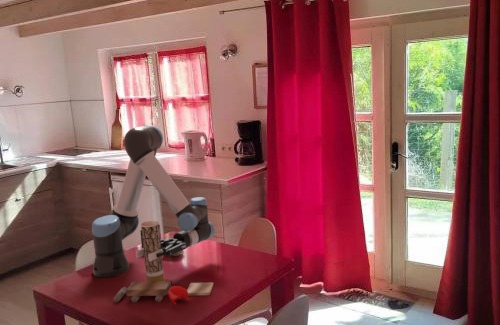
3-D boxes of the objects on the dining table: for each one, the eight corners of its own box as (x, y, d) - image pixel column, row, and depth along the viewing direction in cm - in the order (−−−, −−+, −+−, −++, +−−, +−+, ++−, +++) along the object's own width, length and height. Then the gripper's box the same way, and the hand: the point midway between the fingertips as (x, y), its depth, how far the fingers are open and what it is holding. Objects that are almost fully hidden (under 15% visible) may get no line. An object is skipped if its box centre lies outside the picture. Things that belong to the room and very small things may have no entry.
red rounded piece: (166, 299, 167) (180, 290, 166) (165, 287, 172) (178, 278, 171) (179, 311, 171) (193, 302, 171) (178, 299, 176) (191, 290, 176)
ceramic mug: (176, 258, 215) (175, 242, 214) (161, 257, 218) (160, 241, 217) (187, 250, 225) (186, 235, 224) (172, 249, 228) (171, 234, 227)
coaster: (185, 295, 176) (185, 293, 176) (190, 285, 185) (190, 282, 185) (209, 295, 175) (209, 292, 175) (213, 284, 184) (213, 282, 184)
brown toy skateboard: (113, 303, 174) (111, 290, 173) (121, 292, 182) (120, 281, 181) (166, 302, 172) (165, 289, 171) (172, 291, 180) (171, 279, 180)
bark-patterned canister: (156, 287, 185) (150, 226, 181) (143, 284, 189) (137, 224, 184) (167, 281, 191) (162, 221, 186) (155, 278, 194) (149, 220, 190)
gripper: (202, 251, 196) (160, 270, 178) (170, 243, 208) (127, 260, 190) (201, 233, 195) (158, 251, 177) (168, 227, 207) (125, 243, 189)
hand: (142, 256), depth 184 cm, fingers closed on bark-patterned canister, 7 cm apart
